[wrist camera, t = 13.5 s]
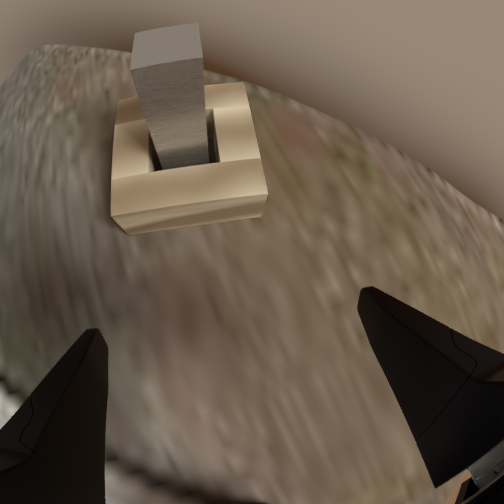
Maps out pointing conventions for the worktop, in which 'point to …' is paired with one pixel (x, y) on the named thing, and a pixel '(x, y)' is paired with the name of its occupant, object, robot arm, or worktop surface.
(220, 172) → the socket block
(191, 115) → the square bit
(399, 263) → the worktop surface
